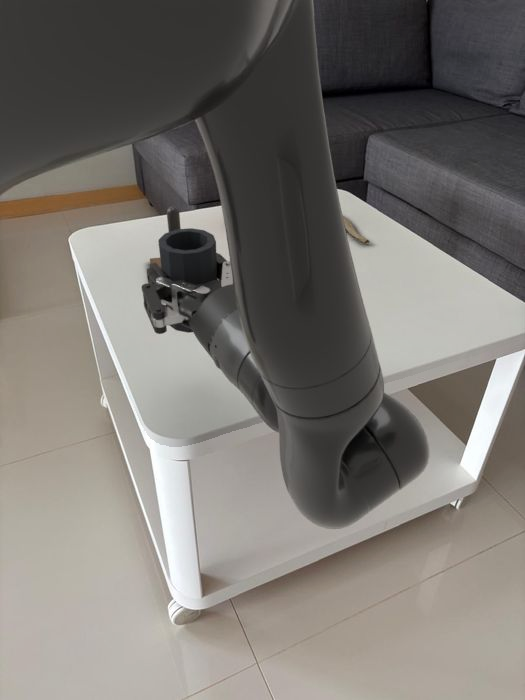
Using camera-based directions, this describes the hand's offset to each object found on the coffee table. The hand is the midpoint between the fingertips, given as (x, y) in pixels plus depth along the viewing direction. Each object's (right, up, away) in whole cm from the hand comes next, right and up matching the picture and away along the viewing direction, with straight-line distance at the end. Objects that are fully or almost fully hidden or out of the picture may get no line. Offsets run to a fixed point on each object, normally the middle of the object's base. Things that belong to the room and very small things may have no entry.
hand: (181, 264), depth 62 cm
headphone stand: (-5, +3, +32) cm, 32 cm away
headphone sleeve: (+1, -6, +2) cm, 6 cm away
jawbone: (+22, +14, +47) cm, 54 cm away
